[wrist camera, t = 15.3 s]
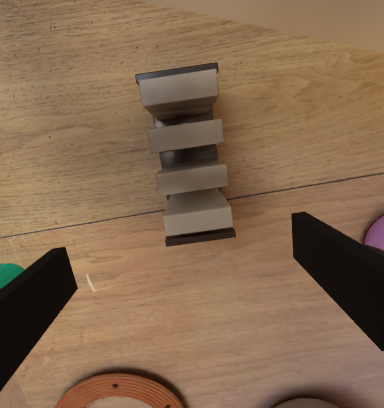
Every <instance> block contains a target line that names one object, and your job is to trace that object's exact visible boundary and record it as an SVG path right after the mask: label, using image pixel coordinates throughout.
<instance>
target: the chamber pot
mask: <svg viewBox="0 0 384 408" xmlns="http://www.w3.org/2000/svg"><path fill="white" fill-rule="evenodd" d="M274 408H338V407H337V406H335V405H334V404H332V403H330V402H327V401H323V400H320V399H316V398H297V399H293V400H288V401H285V402H283V403H281V404H279V405H277V406H275V407H274Z"/></svg>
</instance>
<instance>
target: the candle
mask: <svg viewBox="0 0 384 408" xmlns="http://www.w3.org/2000/svg"><path fill="white" fill-rule="evenodd" d="M23 271H24V270H23V269H22V268H21V267H19V266H17V265H14V264H12V263H10V264H1V265H0V289H1V288H3V287H4V286H5V285H6V284H8V283H9V282H10V281H11V280H13V279H14V278H15V277H17V276H18V275H19V274H20V273H22V272H23Z"/></svg>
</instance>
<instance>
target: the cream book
mask: <svg viewBox="0 0 384 408" xmlns="http://www.w3.org/2000/svg"><path fill="white" fill-rule="evenodd" d="M163 221H164V227H165V232H166V236H172V235H179V234H186V233H193V232H201V231H208V230H215V229H222V228H229V227H233V220H232V210H231V206H230V205H229V203H228V202H227V201H226V199H225V198H224V196H223V195H222V194H221V192H220V191H219V190H218V188H215V189H208V190H201V191H194V192H187V193H180V194H173V195H170V197H169V200H168V203H167V206H166V209H165V212H164V214H163Z"/></svg>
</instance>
